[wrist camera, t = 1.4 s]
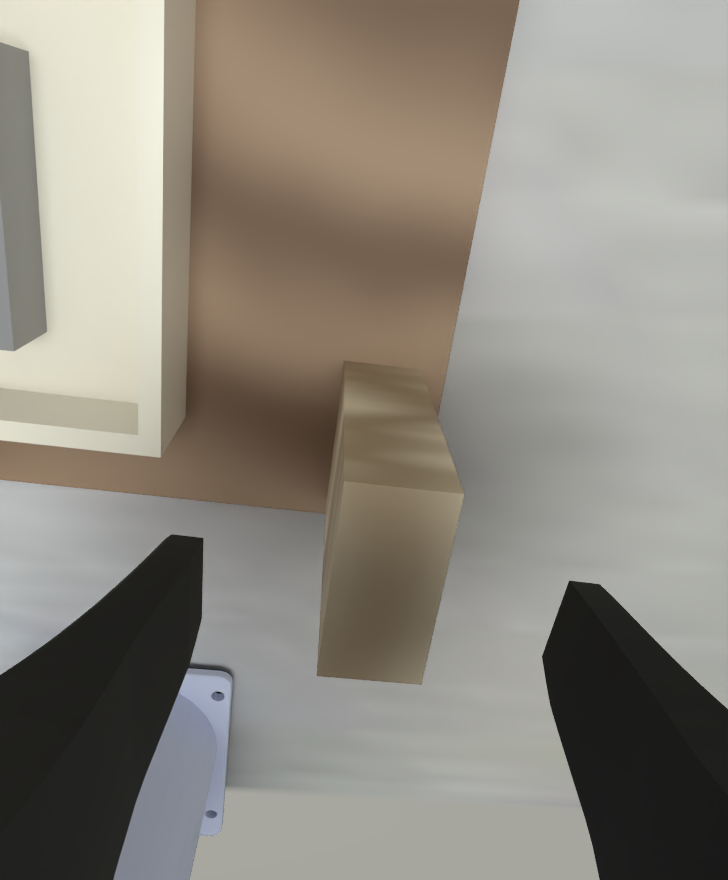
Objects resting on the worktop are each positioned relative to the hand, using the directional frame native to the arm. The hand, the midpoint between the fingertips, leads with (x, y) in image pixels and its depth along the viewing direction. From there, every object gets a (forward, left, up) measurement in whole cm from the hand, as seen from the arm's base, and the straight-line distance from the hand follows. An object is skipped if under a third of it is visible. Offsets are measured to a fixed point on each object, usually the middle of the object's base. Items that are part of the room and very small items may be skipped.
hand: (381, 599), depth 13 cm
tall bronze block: (0, 0, -9) cm, 9 cm away
